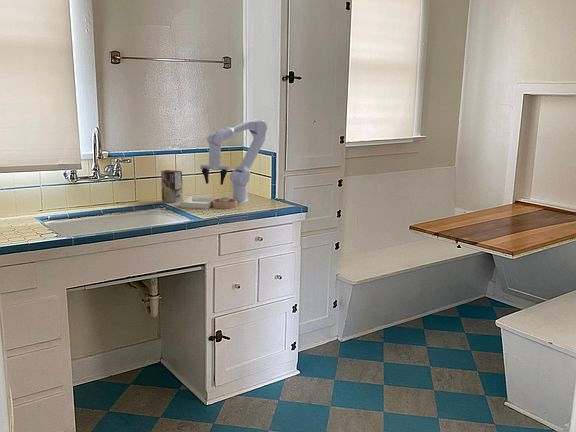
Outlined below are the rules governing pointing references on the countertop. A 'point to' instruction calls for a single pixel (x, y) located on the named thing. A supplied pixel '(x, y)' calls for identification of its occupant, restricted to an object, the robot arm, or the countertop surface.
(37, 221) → the countertop surface
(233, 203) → the bowl
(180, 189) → the coffee box
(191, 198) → the parts tray
